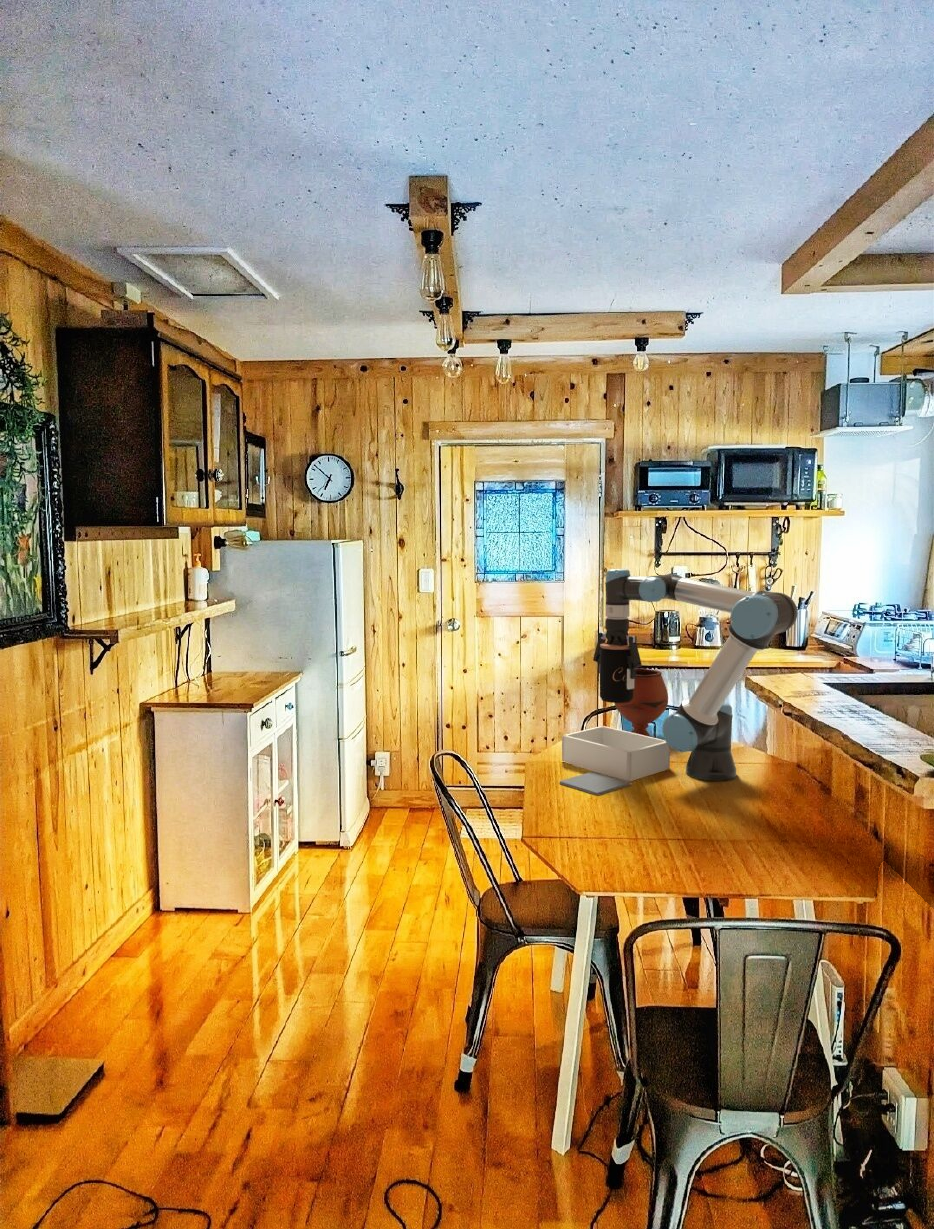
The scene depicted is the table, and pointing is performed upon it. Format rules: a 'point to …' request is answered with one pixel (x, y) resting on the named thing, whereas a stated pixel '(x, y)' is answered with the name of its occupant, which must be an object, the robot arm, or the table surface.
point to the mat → (595, 783)
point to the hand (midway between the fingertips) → (616, 686)
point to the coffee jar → (614, 673)
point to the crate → (616, 752)
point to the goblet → (645, 700)
